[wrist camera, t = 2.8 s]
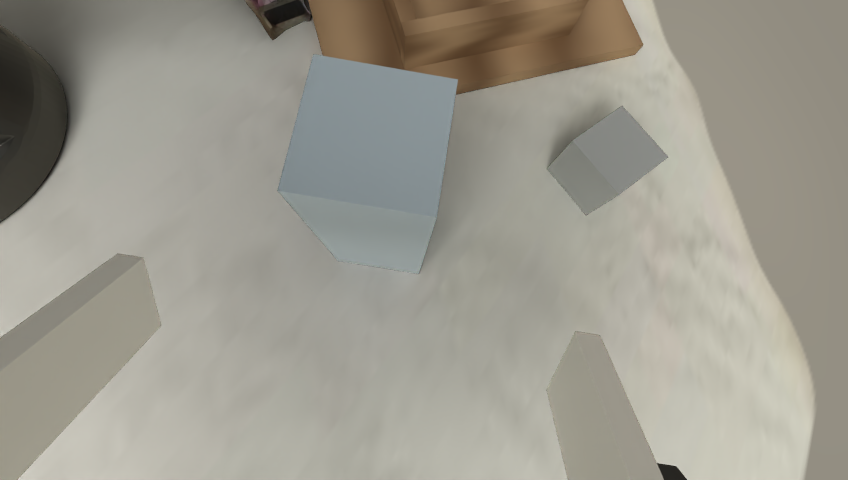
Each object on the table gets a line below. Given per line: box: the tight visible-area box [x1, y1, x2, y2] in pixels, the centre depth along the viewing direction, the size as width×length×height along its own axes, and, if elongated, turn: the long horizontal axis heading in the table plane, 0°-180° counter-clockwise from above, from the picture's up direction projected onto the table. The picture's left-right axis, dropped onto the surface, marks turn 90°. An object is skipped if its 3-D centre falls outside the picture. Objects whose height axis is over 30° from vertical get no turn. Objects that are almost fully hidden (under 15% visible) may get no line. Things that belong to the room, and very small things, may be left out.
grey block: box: [547, 106, 668, 215], centre depth 24 cm, size 4×4×4 cm
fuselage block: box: [277, 54, 458, 274], centre depth 18 cm, size 5×5×12 cm
